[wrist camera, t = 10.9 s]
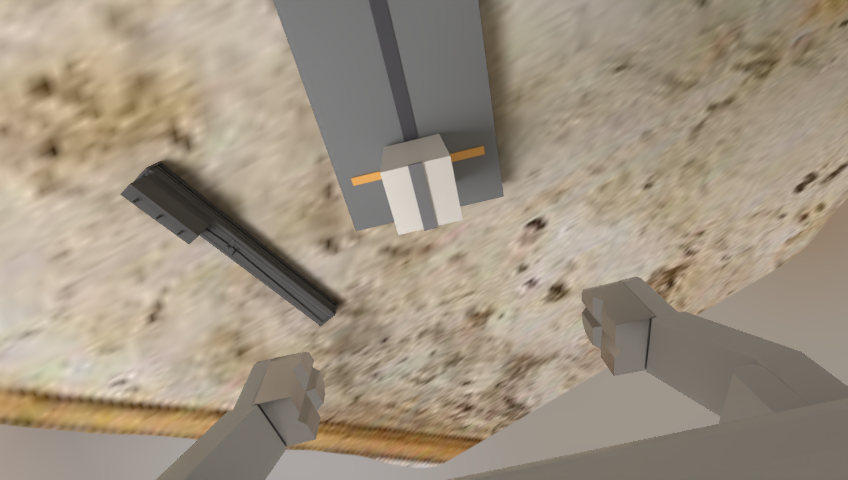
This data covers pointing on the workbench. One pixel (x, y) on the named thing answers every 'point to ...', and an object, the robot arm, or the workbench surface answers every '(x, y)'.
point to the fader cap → (420, 184)
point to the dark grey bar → (223, 237)
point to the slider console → (395, 90)
